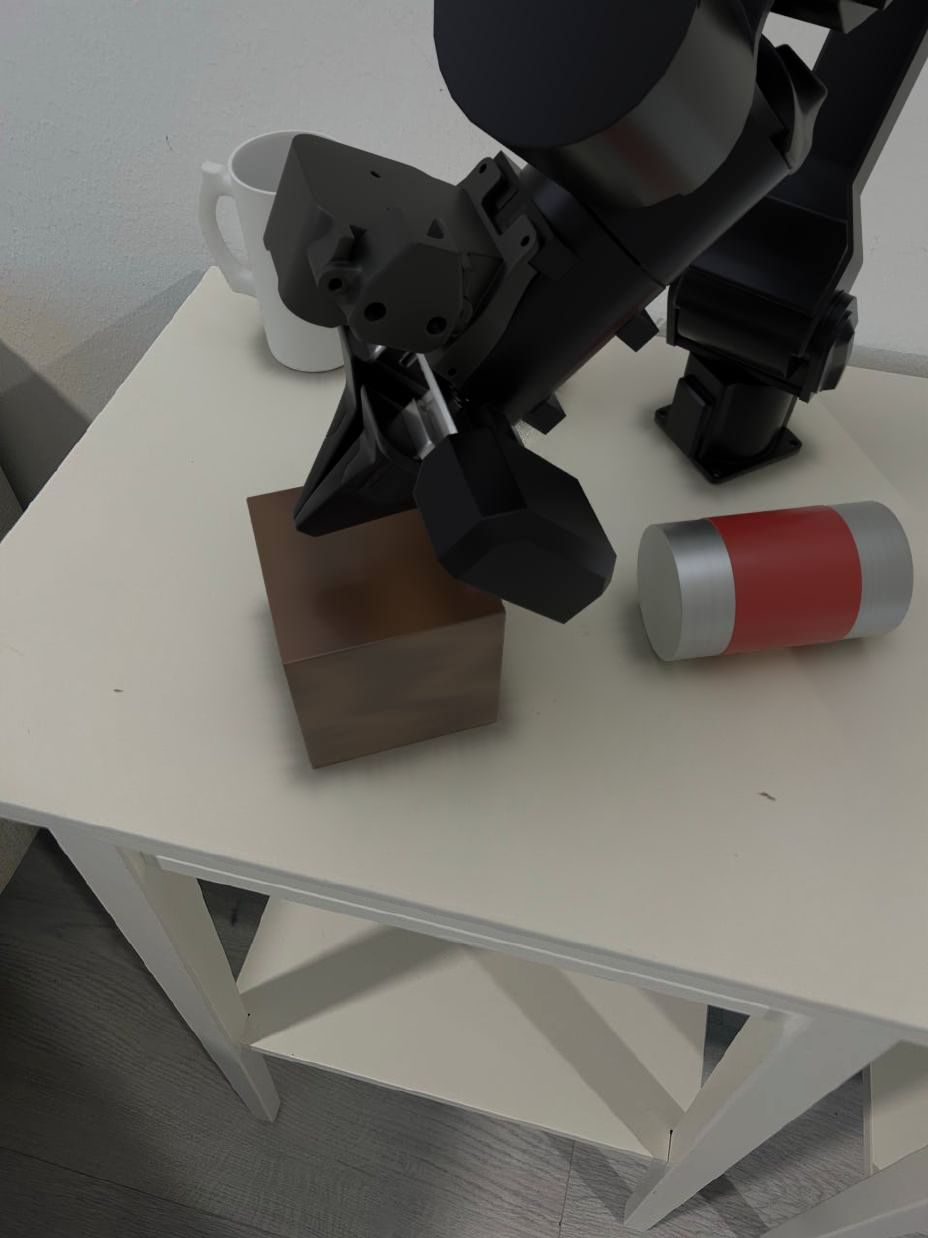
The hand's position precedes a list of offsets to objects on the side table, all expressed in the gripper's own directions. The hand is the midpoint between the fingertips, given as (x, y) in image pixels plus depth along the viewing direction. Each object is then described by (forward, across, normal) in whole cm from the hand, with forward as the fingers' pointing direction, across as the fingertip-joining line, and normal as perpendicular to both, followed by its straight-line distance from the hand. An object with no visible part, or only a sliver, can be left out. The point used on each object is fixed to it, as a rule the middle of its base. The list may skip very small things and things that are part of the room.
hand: (302, 526), depth 36 cm
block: (+6, 0, +10) cm, 12 cm away
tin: (-13, +3, +25) cm, 28 cm away
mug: (+6, -27, +10) cm, 29 cm away
